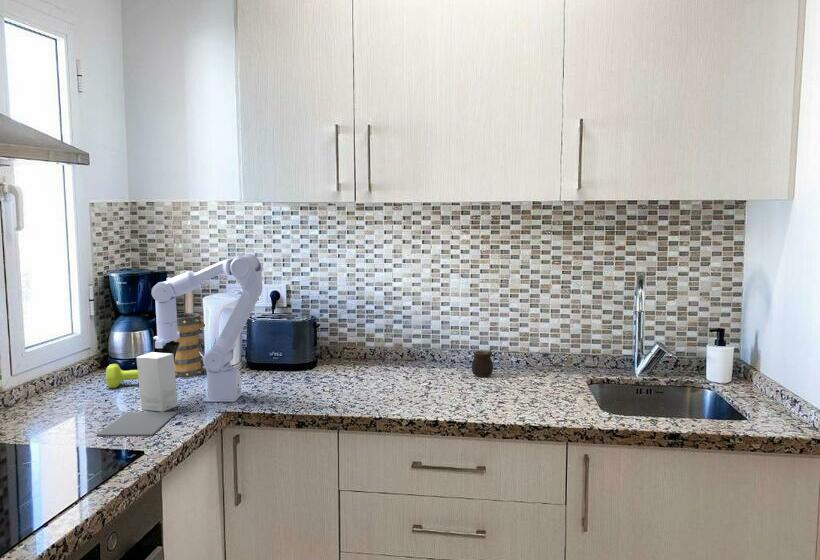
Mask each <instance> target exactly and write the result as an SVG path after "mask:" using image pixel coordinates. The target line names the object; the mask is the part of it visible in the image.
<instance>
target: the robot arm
mask: <svg viewBox="0 0 820 560" xmlns="http://www.w3.org/2000/svg"><path fill="white" fill-rule="evenodd" d="M262 272H263V266H262V264H261V262H260V260H259V258H258V257H257V256H256V255H254V254H251V253H246V254H243V255H242V256H241V255H239V256H236V257H235V256H234V257H232V258H227V259H223V260H221V261H218V262H216V263H215V264H214V263H213V264H212V265H209V266H207V267H206V268H204V269H203V268H202V269H201V270H199V271H196V272H195V271H194V270H193V271H192V270H186V269H184V270H182V271H180V274H178V275H176V276H173V277H171V276H169V277H167V278H166V280H165V281H159V282H157V283H156V284H155V285H154V286H153V287H152V288H151V296H152V298H153V300H155V316H156V318H155V319H156V320H155V321H156V335H155V336H153V337H152V338H153V340H154V348H155V349H157V351H158V353H172V354H173V356H174V361H175V355H176V352H177V349H178V347H179V344H180V342H174V340H177V339H178V338H180V333H179V332H178V330H177V314H178V312H177V297H181V296H183V295H185V294H188V293H190V292H192V291H194V290H197V289H199V287H200V285H201V283H202V282H205V281H207V280H209V279H212V278H215V277H217V276H220V275H227V276H231V275H232V276H233V278H235V280H237V281H238V282H239V284H240V286H241V289H242V292H241V295H240V296H239V298H238V300H237V302H236V304H235V306H234V308H233V310H232V311H231V313H230V316H229V318H228V319H227V322H226V323H225V325H224V327H223V329H222V331H221V333H220V335H219V337H217V340H215V343H214V345H213V347H212V346H211V348H210V349H209V350H208V351H206V352H205V354H204V355H203V356H202V361H203V363H204V366H203V367H204V368H205V370H206V384H207V387H206V388H207V396H206V397H204V399H203V400H202V401H203V402H204V403H206V402H207V403H210V402H212V403H213V402H216V403H217V402H220V403H221V402H227V403H228V402H229V403H230V402H236V401H237V400H238V399H239V398H240V397H241V396H242V394H243V392H242V379H241V375H242V374H241V371H240V369H238V368H233V366H232V364H231V362H232V360H233V359H234V350H235V347H236V346H237V345H236V344H237V343H236V342H237V340H238V338H239V337H240V335H241V332H242V331H243V329H244V327H245V325H246V323H247V321H248V320H249V317H250V315H251V314H252V311H253V309H254V308H255V306H256V304H257V302H258V300H259V298H260V296H261V295H262V293H263V278H262V277H263V276H262V275H263V274H262Z"/></svg>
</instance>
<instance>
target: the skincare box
mask: <svg viewBox="0 0 820 560" xmlns="http://www.w3.org/2000/svg"><path fill="white" fill-rule="evenodd" d="M136 366H137V369H136V370H138V379H137V380H138V386H139V387H138V388H139V398H140V399H139V400H140V407H141V410H145V411H150V412H168V411H169V410H171V409H174V408H176V407H178V406H179V404H178V403H179V402H178V392H177V391H178V390H177V380H176V377H175V367H174V356H173V354H172V353H160V352H159V351H158V352H157V351H156V352H155V351H151V352H148V353H145V354H142V355H139V356H136Z"/></svg>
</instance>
